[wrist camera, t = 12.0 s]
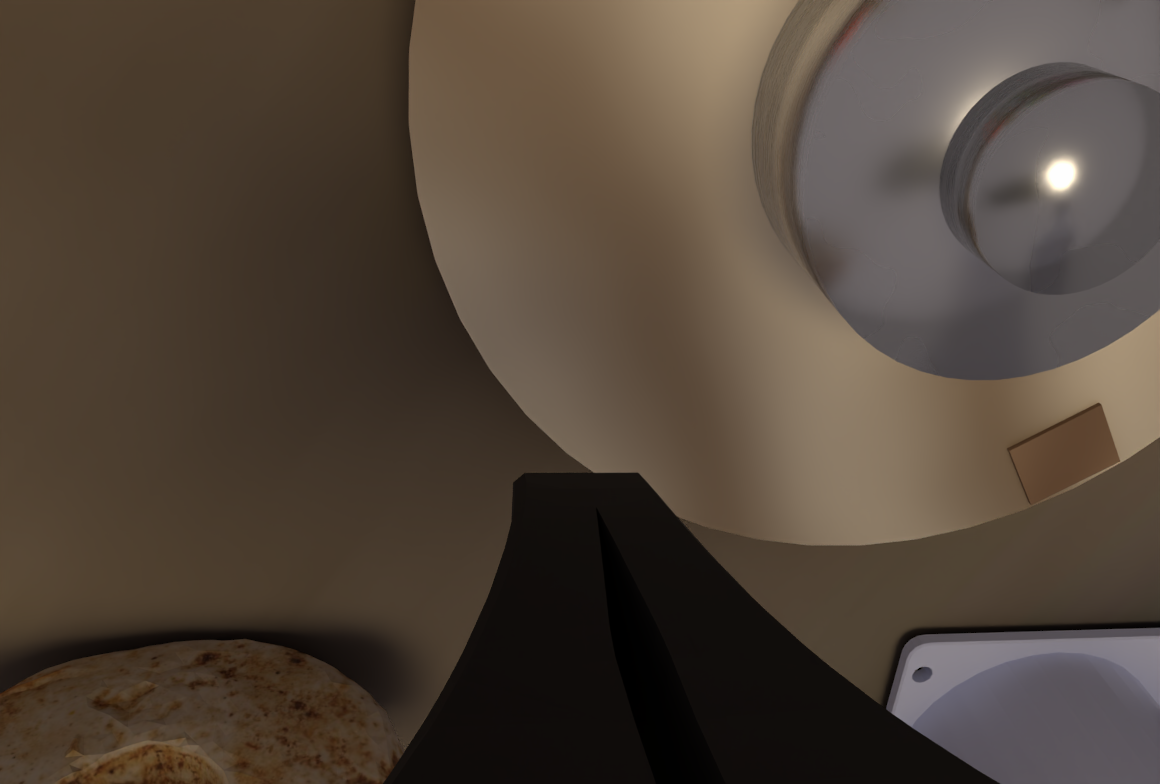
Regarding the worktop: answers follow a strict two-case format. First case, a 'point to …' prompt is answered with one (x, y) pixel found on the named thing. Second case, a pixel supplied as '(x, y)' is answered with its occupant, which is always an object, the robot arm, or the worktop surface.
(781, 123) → the cover
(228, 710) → the bagel
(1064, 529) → the worktop surface
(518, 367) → the turntable
